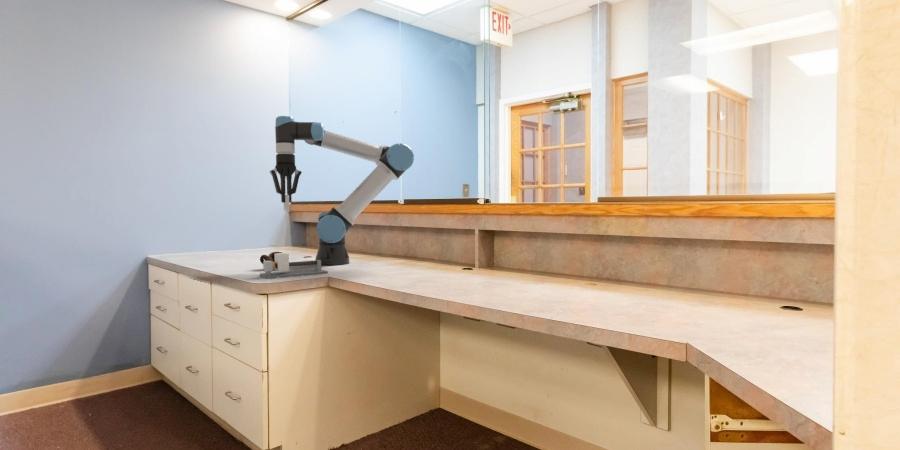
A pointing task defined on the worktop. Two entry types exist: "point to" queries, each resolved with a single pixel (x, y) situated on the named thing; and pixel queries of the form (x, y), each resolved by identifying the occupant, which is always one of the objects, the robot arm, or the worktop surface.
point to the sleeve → (282, 261)
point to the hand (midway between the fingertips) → (286, 210)
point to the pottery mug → (268, 257)
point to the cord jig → (270, 266)
